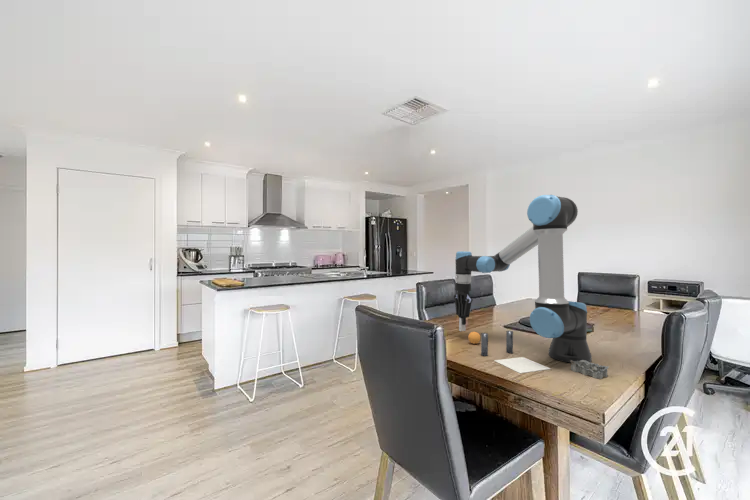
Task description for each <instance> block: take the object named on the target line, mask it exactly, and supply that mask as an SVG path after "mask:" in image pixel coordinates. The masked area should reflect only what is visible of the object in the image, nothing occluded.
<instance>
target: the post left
mask: <svg viewBox="0 0 750 500" xmlns="http://www.w3.org/2000/svg"><path fill="white" fill-rule="evenodd" d="M480 337H481V339H480V341H481V342H480V344H481V345H480V350H481V351H480V356H482V357H488V356H489V333H487V332H481V335H480Z"/></svg>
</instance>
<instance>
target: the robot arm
mask: <svg viewBox="0 0 750 500" xmlns="http://www.w3.org/2000/svg"><path fill="white" fill-rule="evenodd" d="M578 210H579V209H578V206H577V204H576V203H575V202H574V201H573V200H572V199H571V198H568V197H565V196H564V197H562V196H557V195H553V194H542V195H538V196H537V197H535V198H533V200H532V201H530V203H529V204H528V207H527V212H526V214H527V218H528V220H529V221H530V223H531V224H532V227H530V228H528V230H526V231H525V232H523V234H521V235H520V236H518V237H517V238H515V240H513V241H512V242H511V243H509V244H508V245H507V246H505V247H504V248H503V249H500V251H499V252H497V253H496V254H495V255H472V253H473V252H472V251H464V250H463V251H456V253H455V278H454V279H455V280H454V281H455V287H454V290H455V291H456V294H454V295H453V298H454V304H455V305H454V306H455V313H456V316H458V324H459V325H458V331H459V332H466V329H467V328H466V327H467V326H466V324H467V318H469V317H470V314H471V307H472V303H473V301H474V299H473V298H471V297H470V292H471V291H472V284H471V283H472V272H474V273H482V274H488V273H489V274H490V273H492V272H504V271H507V270H508V269H509V268H510V265H511V264H513V263H514V262H515V261H517V260H518V259H519V258H521V257H522V256H524V255H525V254H526V253H528V252H530V251H531V250H532V249H535V247H537V258H538V262H537V263H538V264H537V265H538V297H537V298H536V299H535V300H534V309H533V310H532V311H531V313H530V315H529V323H530V324H529V325H530V326H531V328H532V330H533V331H534V332H535V333H536V334H537V335H539V336H540V337H543V338H546V339H552V340H551V343H550V346H549V348H548V356H549V357H550V358H552V359H554V360H557V361H560V362H565V363H570V364H572V362H570V360H572V361H573V362H575V361H576V362H577V361H580V360H586V361H588V362H590V363H592V352H591V350H590V348H589V344H588V342H587V339H588V338H587V334H588V333H587V331H588V330H587V329H588V326H587V325H588V322H587V321H588V320H587V319H588V309H587V304H586V303H585V302H579V301H572V300H571V301H570V300H568V299H566V298H565V278H564V277H565V276H564V275H565V272H564V234H565V232H567V231H568V227H570V225H572V224H573V223H574V222H575V221H576V219H577V217H578V214H579V213H578V212H579V211H578Z"/></svg>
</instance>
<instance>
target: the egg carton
mask: <svg viewBox="0 0 750 500" xmlns="http://www.w3.org/2000/svg"><path fill="white" fill-rule="evenodd" d="M570 362H572V363H570V364H571V365H570V370H571V371H572V372H574V373H580V374H581V375H584V376H590V377H592V378H594V379H600V380H601V379H603V378H604V377H605V378H608V369H609V367H610V366H608V365H607V366H606V365H602V364H601V365H600V364H599V363H594V362H588V361H586V360H580V361H577V362H576V361H575V362H573V361H572V360H570Z"/></svg>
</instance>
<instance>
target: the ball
mask: <svg viewBox="0 0 750 500" xmlns="http://www.w3.org/2000/svg"><path fill="white" fill-rule="evenodd" d="M467 339H468V342H470V343H471V344H473V345H476V344H479V343H481V342H480V341H481V335H480V333H479V332H476V331H471V332H469V334H468V337H467Z"/></svg>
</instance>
